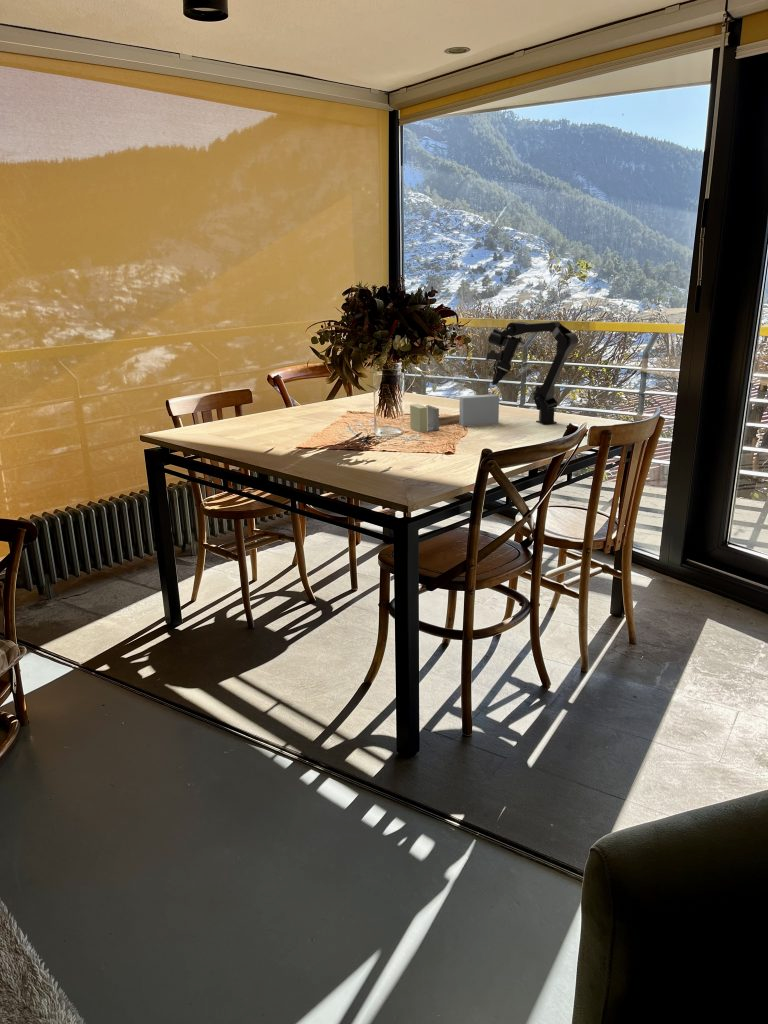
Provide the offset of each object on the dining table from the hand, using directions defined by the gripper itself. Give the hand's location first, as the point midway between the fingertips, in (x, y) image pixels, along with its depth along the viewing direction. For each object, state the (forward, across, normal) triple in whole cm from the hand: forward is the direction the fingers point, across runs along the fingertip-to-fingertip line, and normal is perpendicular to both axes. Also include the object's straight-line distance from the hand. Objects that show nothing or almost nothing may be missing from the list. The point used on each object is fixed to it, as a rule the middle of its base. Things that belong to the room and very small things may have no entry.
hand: (493, 384), depth 335 cm
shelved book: (+30, +17, -22) cm, 41 cm away
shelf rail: (+20, +2, -7) cm, 22 cm away
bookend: (+28, +15, -19) cm, 37 cm away
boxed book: (+18, +7, +1) cm, 19 cm away
